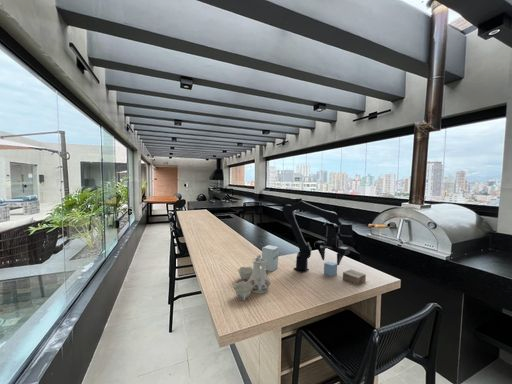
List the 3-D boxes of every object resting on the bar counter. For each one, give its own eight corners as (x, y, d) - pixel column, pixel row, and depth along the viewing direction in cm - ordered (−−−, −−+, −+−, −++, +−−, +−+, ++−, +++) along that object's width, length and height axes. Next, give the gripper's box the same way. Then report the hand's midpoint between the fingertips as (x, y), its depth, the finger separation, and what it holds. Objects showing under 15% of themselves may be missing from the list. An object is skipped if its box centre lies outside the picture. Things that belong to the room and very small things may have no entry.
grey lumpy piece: (235, 278, 114) (233, 247, 113) (267, 275, 115) (265, 245, 115) (234, 309, 86) (231, 268, 86) (275, 305, 87) (272, 264, 87)
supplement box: (272, 272, 120) (273, 249, 120) (260, 269, 124) (261, 247, 124) (278, 268, 127) (279, 246, 126) (267, 265, 130) (267, 244, 130)
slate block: (331, 276, 117) (332, 265, 117) (323, 273, 121) (324, 262, 121) (336, 274, 120) (337, 263, 120) (328, 271, 124) (329, 261, 124)
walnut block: (357, 285, 108) (357, 277, 108) (342, 279, 114) (343, 272, 114) (365, 281, 113) (365, 274, 112) (350, 276, 119) (351, 269, 119)
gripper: (355, 236, 118) (354, 264, 118) (325, 230, 132) (324, 255, 133) (345, 239, 111) (343, 269, 111) (314, 232, 125) (313, 258, 126)
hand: (330, 262), depth 120 cm, fingers open, 9 cm apart
